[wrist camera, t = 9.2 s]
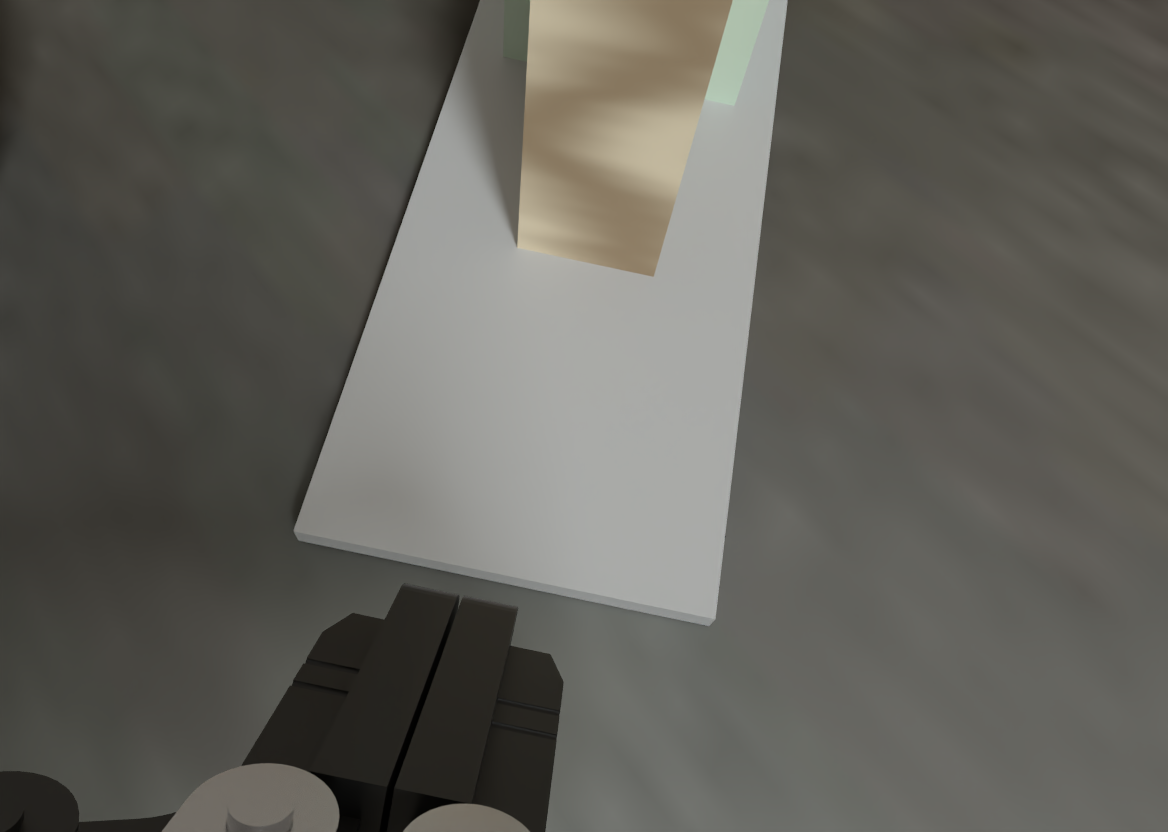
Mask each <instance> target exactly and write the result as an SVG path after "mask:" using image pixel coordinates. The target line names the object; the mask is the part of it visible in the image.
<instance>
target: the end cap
mask: <svg viewBox="0 0 1168 832" xmlns="http://www.w3.org/2000/svg"><path fill="white" fill-rule="evenodd" d="M768 2H769V0H733V1H732V5H731V8H730V12H729V15H728V19H727V22H726V26H725V29H724V33H723V36H722V40H721V43H720V47H719V50H718V54H717V57H716V61H715V64H714V68H713V71H712V75H711V78H710V82H709V85H708V89H707V92H706V96H705V100H710V101H714V102H719V103H724V104H729V105H733V106H735V103H736V100H737V97H738V94H739V91H740V88H741V85H742V81H743V78H744V75H745V72H746V69H747V66H748V63H749V60H750V57H751V54H752V51H753V48H754V45H755V42H756V39H757V36H758V33H759V30H760V27H761V24H762V21H763V17H764V14H765V11H766V8H767V5H768ZM529 16H530V0H504V38H503V57H506V58H511V59H516V60H521V61H525V62H527V54H528V35H529Z"/></svg>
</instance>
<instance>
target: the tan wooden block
mask: <svg viewBox="0 0 1168 832" xmlns="http://www.w3.org/2000/svg"><path fill="white" fill-rule="evenodd" d="M732 1H733V0H530V16H529V35H528V54H527V72H526V91H525V110H524V129H523V148H522V167H521V186H520V205H519V224H518V242H517V248H521V249H526V250H530V251H535V252H540V253H544V254H549V255H554V256H558V257H563V258H568V259H572V260H577V261H582V262H586V263H591V264H596V265H600V266H605V267H610V268H615V269H619V270H624V271H629V272H633V273H638V274H643V275H647V276H652V277H654V274H655V271H656V267H657V264H658V260H659V257H660V253H661V250H662V246H663V243H664V239H665V236H666V232H667V229H668V225H669V222H670V218H671V215H672V211H673V208H674V204H675V201H676V197H677V194H678V190H679V187H680V183H681V180H682V176H683V173H684V169H685V166H686V162H687V159H688V155H689V152H690V148H691V145H692V141H693V138H694V134H695V131H696V127H697V124H698V120H699V117H700V113H701V110H702V106H703V103H704V99H705V96H706V92H707V89H708V85H709V82H710V78H711V75H712V71H713V68H714V64H715V61H716V57H717V54H718V50H719V47H720V43H721V40H722V36H723V33H724V29H725V26H726V22H727V19H728V15H729V12H730V8H731V5H732Z"/></svg>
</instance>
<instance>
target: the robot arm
mask: <svg viewBox="0 0 1168 832" xmlns="http://www.w3.org/2000/svg"><path fill="white" fill-rule="evenodd" d="M458 605H459V595H457V594H453V593H448V592H443V591H438V590H434V589H429V588H424V587H419V586H415V585H410V584H405V583H404V584H403V585H402V586H401V588H400V590H399V592H398V594H397V596H396V598H395V600H394V602H393V604H392V606H391V608H390V610H389V612H388V614H387V616H386V618H385V620H383V619H379V618H374V617H369V616H364V615H359V614H355V613H352V614H350V615H349V616H347V617H346V618H344V619H342V620H341V621H339V622H338V623H336V624H335V625H333V626H331V627H330V628H328V629H327V630H325V631H323V632H322V634H321V636H320V637H319V639H318V641H317V642H316V644H315V645H314V647H313V649H312V650H311V652H310V654H309V655H308V657H307V660H306V663H305V664H303V665H302V667H301V668H300V670H299V672H298V673H297V675H296V677H295V678H294V680H293V684H292V686H290V687H289V688H288V690H287V692H286V693H285V695H284V696H283V698H282V700H281V701H280V703H279V705H278V706H277V708H276V710H275V711H274V713H273V715H272V716H271V718H270V719H269V721H268V723H267V724H266V726H265V728H264V729H263V731H262V733H261V734H260V736H259V738H258V739H257V741H256V742H255V744H254V746H253V747H252V749H251V751H250V752H249V754H248V756H247V757H246V759H245V761H244V762H243V764H242V766H240V767H237V768H233V769H229V770H227V771H225V772H222V773H220V774H217V775H216V776H214V777H212V778H210V779H209V780H207V781H205V782H204V783H203V784H202V785H200V786H199V787H198V788H197V789H196V790H195V791H194V792H193V793H192V794H191V795H190V796H189V797H188V798H187V800H186V801H185V802H184V803H183V805H182V806H181V807H180V809H179V810H178V811H177V812H175V813H172V814H168V815H163V816H158V817H152V818H142V819H128V820H110V821H92V822H79V810H78V805H77V802H76V800H75V798H74V796H73V794H72V793H71V792H70V791H69V790H68V789H67V788H66V787H65V786H64V785H62V784H61V783H59V782H58V781H56V780H53V779H51V778H49V777H47V776H43V775H39V774H35V773H29V772H20V771H3V772H0V832H545V829H546V821H547V813H548V805H549V797H550V788H551V780H552V772H553V764H554V756H555V748H556V737H557V731H558V723H559V713H560V707H561V699H562V691H563V683H564V682H563V680H562V678H561V676H560V673H559V671H558V669H557V667H556V665H555V663H554V661H553V659H552V657H551V655H550V654H547V653H542V652H537V651H533V650H528V649H523V648H518V647H513V646H510V645H511V640H512V635H513V631H514V626H515V621H516V616H517V611H518V607H516V606H511V605H506V604H501V603H497V602H492V601H487V600H482V599H477V598H473V597H468V596H463V598H462V600H461V603H460V606H459V609H458Z"/></svg>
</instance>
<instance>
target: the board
mask: <svg viewBox="0 0 1168 832" xmlns="http://www.w3.org/2000/svg"><path fill="white" fill-rule="evenodd" d="M786 9H787V0H769V2H768V5H767V8H766V11H765V14H764V17H763V21H762V24H761V27H760V30H759V33H758V36H757V39H756V42H755V45H754V48H753V51H752V54H751V57H750V60H749V63H748V66H747V69H746V72H745V75H744V78H743V81H742V85H741V88H740V91H739V94H738V97H737V100H736V103H735V106H733V105H729V104H724V103H719V102H714V101H710V100H705V99H704V103H703V106H702V110H701V113H700V117H699V120H698V124H697V127H696V131H695V134H694V138H693V141H692V145H691V148H690V152H689V155H688V159H687V162H686V166H685V169H684V173H683V176H682V180H681V183H680V187H679V190H678V194H677V197H676V201H675V204H674V208H673V211H672V215H671V218H670V222H669V225H668V229H667V232H666V236H665V239H664V243H663V246H662V250H661V253H660V257H659V260H658V264H657V267H656V271H655V274H654V277H652V276H647V275H643V274H638V273H633V272H629V271H624V270H619V269H615V268H610V267H605V266H600V265H596V264H591V263H586V262H582V261H577V260H572V259H568V258H563V257H558V256H554V255H549V254H544V253H540V252H535V251H530V250H526V249H521V248H517V242H518V224H519V205H520V186H521V167H522V148H523V129H524V110H525V91H526V72H527V62H525V61H521V60H516V59H511V58H506V57H503V38H504V0H480V2H479V5H478V8H477V11H476V14H475V16H474V19H473V22H472V25H471V28H470V31H469V34H468V36H467V39H466V42H465V45H464V48H463V51H462V53H461V56H460V59H459V62H458V65H457V68H456V70H455V73H454V76H453V79H452V82H451V85H450V88H449V90H448V93H447V96H446V99H445V102H444V105H443V107H442V110H441V113H440V116H439V119H438V122H437V124H436V127H435V130H434V133H433V136H432V139H431V141H430V144H429V147H428V150H427V153H426V156H425V159H424V161H423V164H422V167H421V170H420V173H419V176H418V178H417V181H416V184H415V187H414V190H413V193H412V195H411V198H410V201H409V204H408V207H407V210H406V213H405V215H404V218H403V221H402V224H401V227H400V230H399V232H398V235H397V238H396V241H395V244H394V247H393V249H392V252H391V255H390V258H389V261H388V264H387V267H386V269H385V272H384V275H383V278H382V281H381V284H380V286H379V289H378V292H377V295H376V298H375V301H374V303H373V306H372V309H371V312H370V315H369V318H368V321H367V323H366V326H365V329H364V332H363V335H362V338H361V340H360V343H359V346H358V349H357V352H356V355H355V357H354V360H353V363H352V366H351V369H350V372H349V374H348V377H347V380H346V383H345V386H344V389H343V392H342V394H341V397H340V400H339V403H338V406H337V409H336V411H335V414H334V417H333V420H332V423H331V426H330V428H329V431H328V434H327V437H326V440H325V443H324V446H323V448H322V451H321V454H320V457H319V460H318V463H317V465H316V468H315V471H314V474H313V477H312V480H311V482H310V485H309V488H308V491H307V494H306V497H305V500H304V502H303V505H302V508H301V511H300V514H299V517H298V519H297V522H296V525H295V528H294V531H293V532H294V533H295V535H296V537H297V539H298V540H299V541H303V542H308V543H313V544H318V545H322V546H327V547H332V548H337V549H342V550H346V551H351V552H356V553H361V554H365V555H370V556H375V557H380V558H385V559H389V560H394V561H399V562H404V563H409V564H413V565H418V566H423V567H428V568H433V569H437V570H442V571H447V572H452V573H457V574H461V575H466V576H471V577H476V578H481V579H485V580H490V581H495V582H500V583H505V584H509V585H514V586H519V587H524V588H529V589H533V590H538V591H543V592H548V593H553V594H557V595H562V596H567V597H572V598H577V599H581V600H586V601H591V602H596V603H601V604H605V605H610V606H615V607H620V608H625V609H629V610H634V611H639V612H644V613H649V614H653V615H658V616H663V617H668V618H673V619H677V620H682V621H687V622H692V623H697V624H701V625H706V626H709V625H710V624H711V623H712V622H713V621H714V620H715V617H716V608H717V600H718V591H719V583H720V574H721V565H722V557H723V548H724V540H725V531H726V523H727V514H728V506H729V497H730V488H731V480H732V471H733V463H734V454H735V446H736V437H737V428H738V420H739V411H740V403H741V394H742V386H743V377H744V368H745V360H746V351H747V343H748V334H749V326H750V317H751V309H752V300H753V291H754V283H755V274H756V266H757V257H758V249H759V240H760V231H761V223H762V214H763V206H764V197H765V189H766V180H767V172H768V163H769V154H770V146H771V137H772V129H773V120H774V112H775V103H776V94H777V86H778V77H779V69H780V60H781V52H782V43H783V35H784V26H785V17H786Z"/></svg>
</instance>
